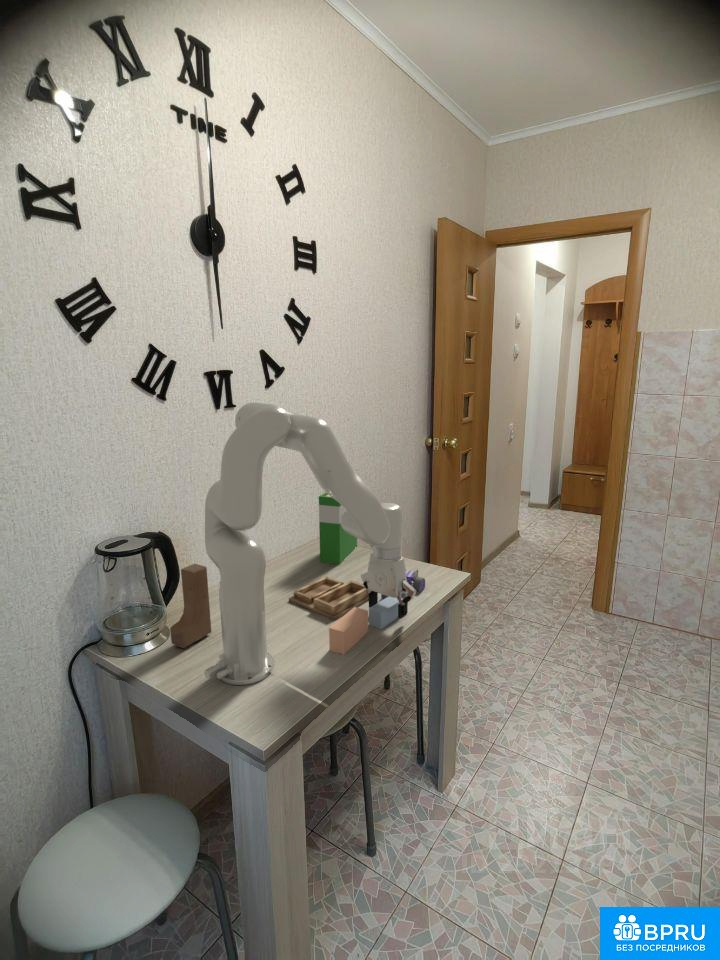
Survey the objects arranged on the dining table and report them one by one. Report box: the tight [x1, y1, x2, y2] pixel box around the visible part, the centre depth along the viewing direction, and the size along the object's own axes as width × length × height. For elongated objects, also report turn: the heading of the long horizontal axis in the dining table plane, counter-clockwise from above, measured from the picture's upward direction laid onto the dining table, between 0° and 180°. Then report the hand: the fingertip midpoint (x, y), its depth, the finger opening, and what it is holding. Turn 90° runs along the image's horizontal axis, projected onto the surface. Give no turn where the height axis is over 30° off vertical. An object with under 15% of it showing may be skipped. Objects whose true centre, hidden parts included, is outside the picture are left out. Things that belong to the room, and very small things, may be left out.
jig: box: [288, 576, 369, 622], centre depth 143 cm, size 17×18×4 cm
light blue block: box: [368, 597, 400, 630], centre depth 131 cm, size 10×4×5 cm, turn 140°
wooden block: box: [169, 563, 212, 649], centre depth 121 cm, size 9×4×18 cm, turn 149°
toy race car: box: [379, 569, 426, 602], centre depth 145 cm, size 10×15×6 cm, turn 151°
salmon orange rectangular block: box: [328, 607, 369, 655], centre depth 121 cm, size 12×4×6 cm, turn 151°
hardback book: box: [318, 491, 358, 565], centre depth 175 cm, size 18×7×24 cm, turn 161°
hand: (387, 611), depth 131 cm, fingers open, 9 cm apart
